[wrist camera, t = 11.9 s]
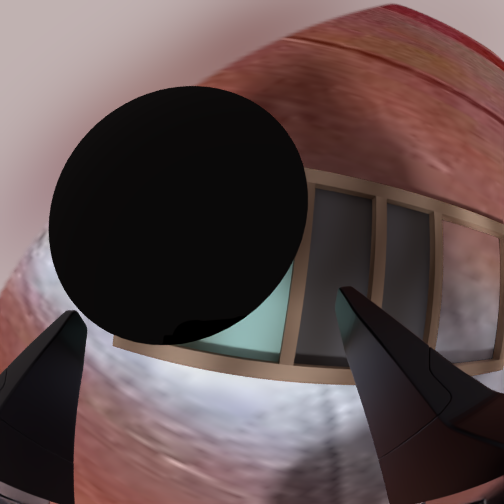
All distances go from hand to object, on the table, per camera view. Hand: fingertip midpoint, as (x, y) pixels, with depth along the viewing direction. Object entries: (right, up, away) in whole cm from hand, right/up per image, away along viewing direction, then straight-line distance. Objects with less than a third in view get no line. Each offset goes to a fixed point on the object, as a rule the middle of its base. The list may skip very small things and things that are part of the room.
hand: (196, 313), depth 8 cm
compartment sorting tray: (+9, 0, +8) cm, 12 cm away
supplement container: (0, +1, +8) cm, 8 cm away
